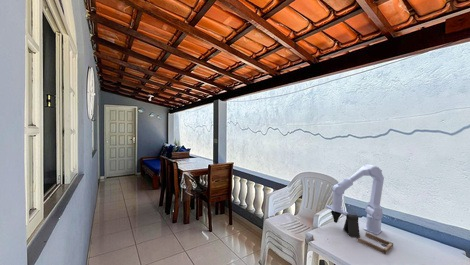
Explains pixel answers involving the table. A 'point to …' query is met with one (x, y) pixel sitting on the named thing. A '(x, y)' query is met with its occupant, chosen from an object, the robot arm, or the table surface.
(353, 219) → the phone stand
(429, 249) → the table surface
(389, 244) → the walnut bracket
